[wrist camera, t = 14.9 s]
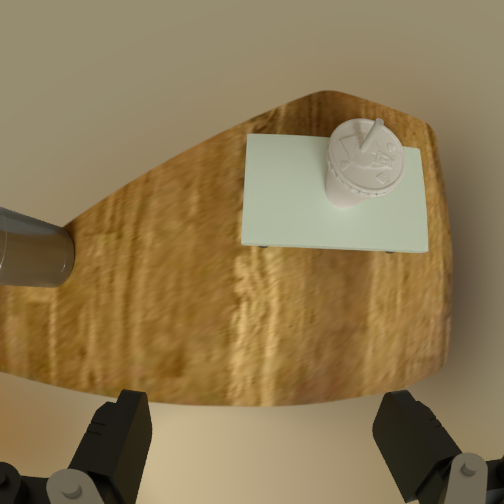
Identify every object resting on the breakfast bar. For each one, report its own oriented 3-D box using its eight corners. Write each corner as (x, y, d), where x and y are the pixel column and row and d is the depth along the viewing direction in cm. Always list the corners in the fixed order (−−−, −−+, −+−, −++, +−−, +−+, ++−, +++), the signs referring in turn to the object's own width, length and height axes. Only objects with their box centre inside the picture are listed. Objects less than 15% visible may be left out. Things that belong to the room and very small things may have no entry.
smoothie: (324, 153, 31) (354, 72, 17) (379, 178, 31) (437, 113, 17) (302, 206, 31) (324, 144, 17) (360, 232, 30) (420, 191, 16)
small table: (246, 251, 38) (241, 242, 31) (251, 158, 39) (247, 133, 32) (403, 257, 36) (428, 251, 29) (398, 169, 38) (419, 149, 31)
